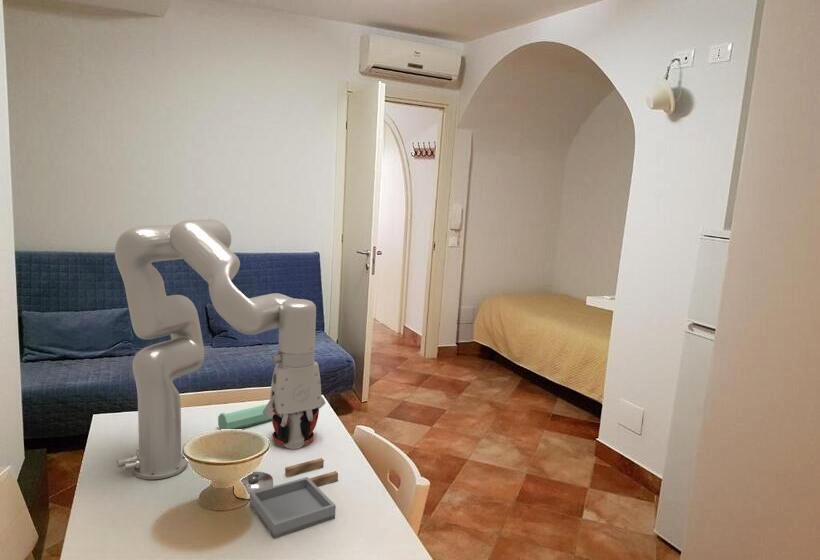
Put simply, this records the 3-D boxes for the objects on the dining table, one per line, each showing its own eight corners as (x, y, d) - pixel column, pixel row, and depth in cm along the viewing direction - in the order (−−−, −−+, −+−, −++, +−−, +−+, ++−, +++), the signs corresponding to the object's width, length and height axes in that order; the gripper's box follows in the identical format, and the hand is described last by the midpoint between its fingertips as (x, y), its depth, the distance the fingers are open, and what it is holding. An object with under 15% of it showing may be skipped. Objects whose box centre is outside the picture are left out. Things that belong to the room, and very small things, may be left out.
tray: (274, 538, 112) (274, 525, 112) (249, 505, 123) (250, 492, 123) (335, 518, 120) (335, 505, 120) (307, 488, 132) (307, 476, 131)
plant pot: (296, 455, 147) (298, 413, 146) (260, 442, 154) (261, 401, 152) (327, 438, 159) (328, 398, 157) (292, 426, 165) (293, 388, 163)
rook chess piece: (299, 450, 117) (300, 415, 116) (280, 447, 118) (280, 412, 117) (307, 441, 122) (308, 407, 120) (288, 439, 122) (289, 404, 121)
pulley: (241, 503, 124) (241, 490, 123) (228, 485, 131) (228, 472, 130) (278, 492, 129) (279, 480, 128) (264, 475, 136) (264, 463, 136)
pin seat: (300, 491, 130) (300, 483, 130) (285, 475, 137) (285, 467, 137) (337, 480, 136) (338, 473, 136) (321, 465, 143) (321, 458, 143)
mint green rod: (294, 392, 176) (220, 409, 159) (304, 404, 173) (229, 422, 156) (290, 406, 179) (216, 424, 161) (299, 418, 175) (224, 438, 158)
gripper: (265, 368, 109) (263, 455, 112) (340, 357, 119) (336, 437, 122) (251, 358, 115) (250, 440, 118) (323, 348, 125) (320, 424, 128)
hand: (294, 438), depth 120 cm, fingers closed on rook chess piece, 4 cm apart
